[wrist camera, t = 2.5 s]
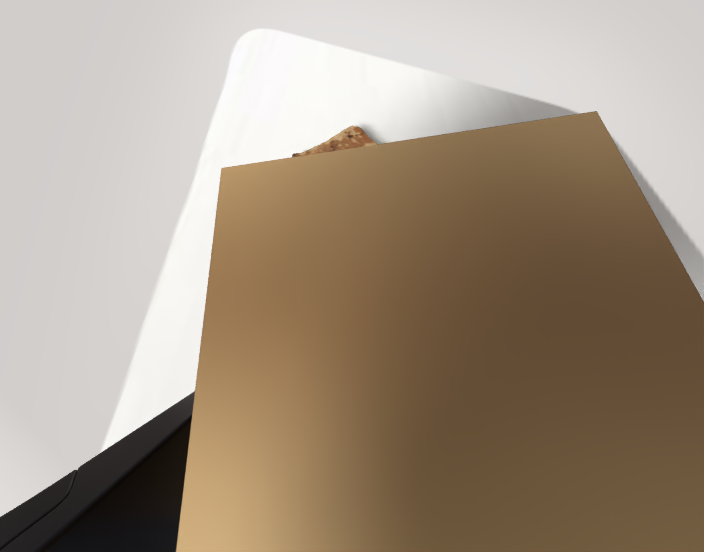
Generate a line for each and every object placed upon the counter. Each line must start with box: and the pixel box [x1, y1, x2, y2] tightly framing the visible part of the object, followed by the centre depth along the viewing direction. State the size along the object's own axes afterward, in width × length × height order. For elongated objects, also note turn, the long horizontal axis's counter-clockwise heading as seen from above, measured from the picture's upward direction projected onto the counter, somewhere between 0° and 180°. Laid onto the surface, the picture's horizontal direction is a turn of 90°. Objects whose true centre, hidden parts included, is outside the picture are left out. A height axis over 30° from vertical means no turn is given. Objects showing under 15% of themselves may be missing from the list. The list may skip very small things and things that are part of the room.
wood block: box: [176, 111, 704, 552], centre depth 9 cm, size 5×5×13 cm
